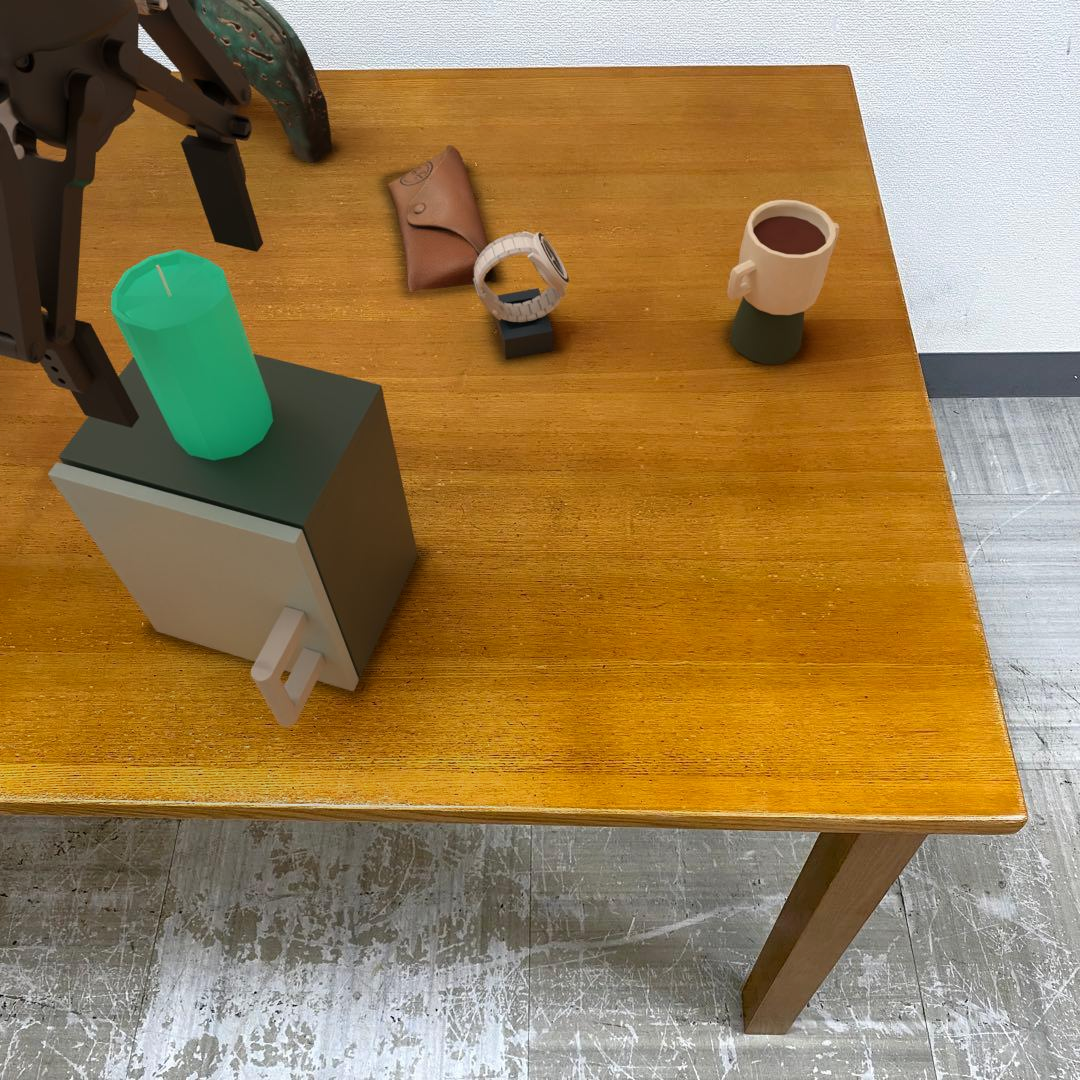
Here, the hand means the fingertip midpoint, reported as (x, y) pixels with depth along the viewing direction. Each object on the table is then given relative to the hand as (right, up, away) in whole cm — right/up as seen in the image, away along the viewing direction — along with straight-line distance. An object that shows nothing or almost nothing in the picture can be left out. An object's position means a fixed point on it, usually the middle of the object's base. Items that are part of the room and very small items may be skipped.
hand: (180, 324), depth 55 cm
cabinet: (+1, -15, +23) cm, 28 cm away
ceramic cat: (-11, +33, +55) cm, 65 cm away
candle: (0, -5, +6) cm, 8 cm away
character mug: (+40, +6, +37) cm, 54 cm away
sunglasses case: (+9, +19, +46) cm, 50 cm away
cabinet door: (-2, -22, +18) cm, 29 cm away
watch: (+18, +7, +38) cm, 42 cm away
